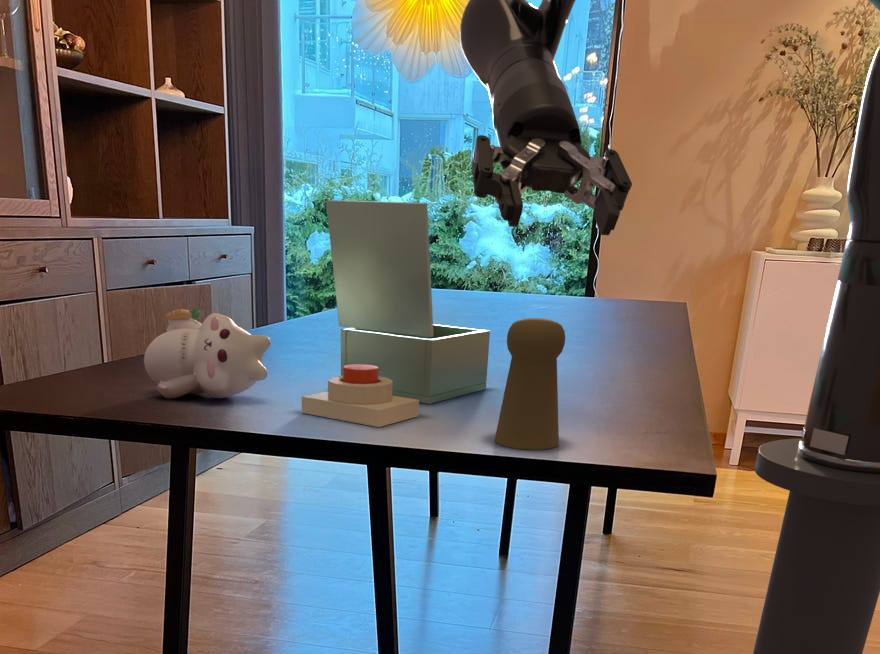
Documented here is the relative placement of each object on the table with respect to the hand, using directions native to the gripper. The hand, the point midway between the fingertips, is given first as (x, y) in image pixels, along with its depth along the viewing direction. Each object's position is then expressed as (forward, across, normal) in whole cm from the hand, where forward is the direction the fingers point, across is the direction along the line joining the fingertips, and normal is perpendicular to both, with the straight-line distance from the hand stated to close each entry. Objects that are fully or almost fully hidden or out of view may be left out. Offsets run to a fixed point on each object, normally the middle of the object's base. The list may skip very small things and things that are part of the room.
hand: (563, 222), depth 79 cm
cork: (+12, -1, +15) cm, 19 cm away
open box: (-10, -8, +29) cm, 32 cm away
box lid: (-13, -13, +15) cm, 24 cm away
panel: (+2, -16, +22) cm, 27 cm away
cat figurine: (-5, -31, +28) cm, 42 cm away
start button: (0, -16, +19) cm, 25 cm away
